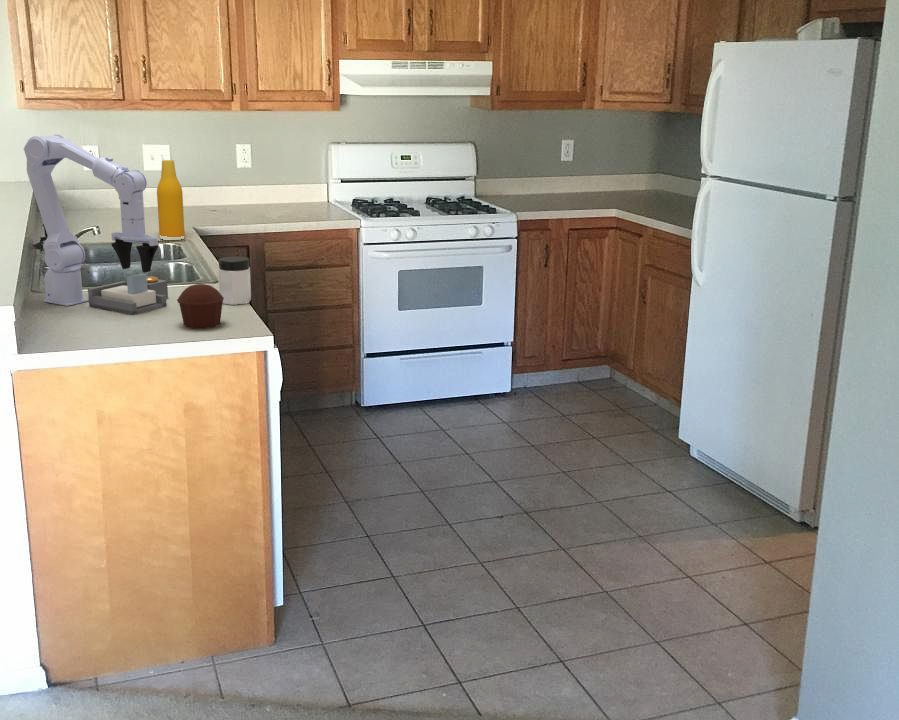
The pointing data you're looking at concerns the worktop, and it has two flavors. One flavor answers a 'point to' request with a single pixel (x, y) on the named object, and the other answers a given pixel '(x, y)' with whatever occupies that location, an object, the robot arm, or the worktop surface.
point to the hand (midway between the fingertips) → (136, 270)
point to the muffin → (201, 306)
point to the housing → (126, 306)
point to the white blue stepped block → (132, 291)
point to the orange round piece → (151, 279)
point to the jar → (234, 280)
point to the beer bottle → (170, 202)
